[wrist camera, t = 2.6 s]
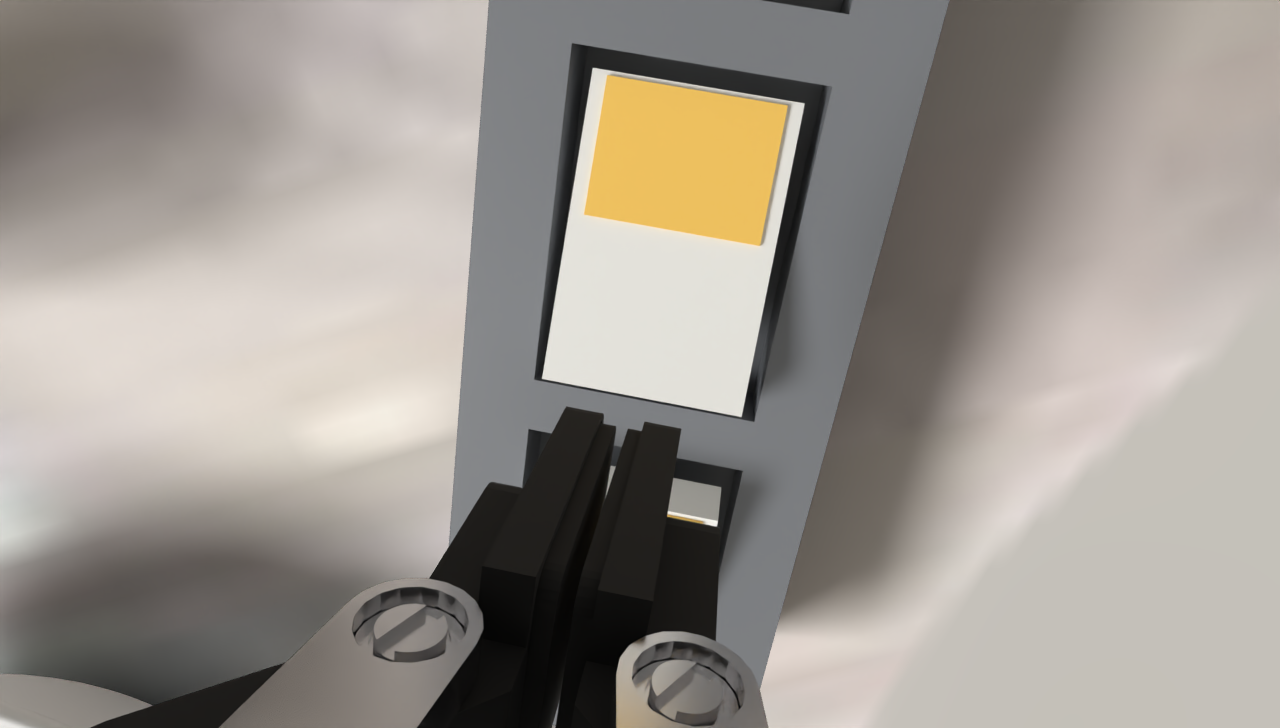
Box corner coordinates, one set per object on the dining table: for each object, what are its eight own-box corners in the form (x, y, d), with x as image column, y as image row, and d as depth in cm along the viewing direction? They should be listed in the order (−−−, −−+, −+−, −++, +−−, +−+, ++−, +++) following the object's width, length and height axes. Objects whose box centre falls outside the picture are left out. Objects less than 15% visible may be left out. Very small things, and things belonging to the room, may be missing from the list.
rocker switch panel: (645, -921, 13) (594, -1433, 9) (1121, -874, 13) (1331, -1388, 8) (493, 582, 25) (437, 700, 21) (739, 633, 25) (738, 765, 20)
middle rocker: (599, 79, 16) (592, 67, 15) (798, 113, 16) (805, 102, 14) (551, 371, 17) (541, 379, 16) (739, 407, 16) (741, 418, 15)
